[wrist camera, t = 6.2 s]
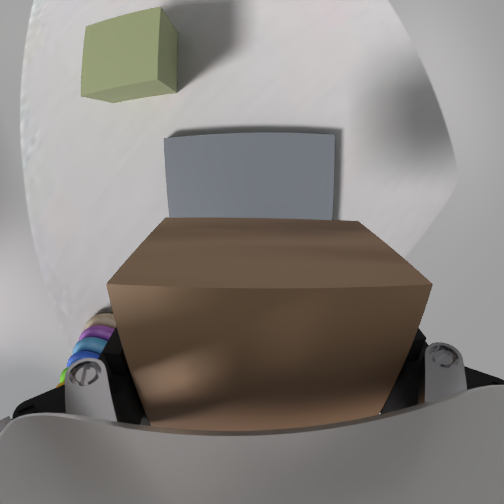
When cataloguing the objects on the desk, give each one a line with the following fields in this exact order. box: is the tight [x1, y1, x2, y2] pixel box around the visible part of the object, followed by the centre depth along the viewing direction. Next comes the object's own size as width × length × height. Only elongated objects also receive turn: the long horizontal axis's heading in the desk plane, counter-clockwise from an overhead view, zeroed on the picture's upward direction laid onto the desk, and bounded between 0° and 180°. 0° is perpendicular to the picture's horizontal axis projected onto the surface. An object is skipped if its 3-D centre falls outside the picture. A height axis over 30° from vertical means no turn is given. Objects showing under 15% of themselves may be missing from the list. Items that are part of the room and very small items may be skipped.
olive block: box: [81, 7, 178, 103], centre depth 17 cm, size 6×6×6 cm
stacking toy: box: [56, 313, 116, 388], centre depth 21 cm, size 8×8×19 cm
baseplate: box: [164, 132, 335, 220], centre depth 25 cm, size 14×14×1 cm
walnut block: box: [107, 218, 432, 431], centre depth 9 cm, size 7×7×5 cm
